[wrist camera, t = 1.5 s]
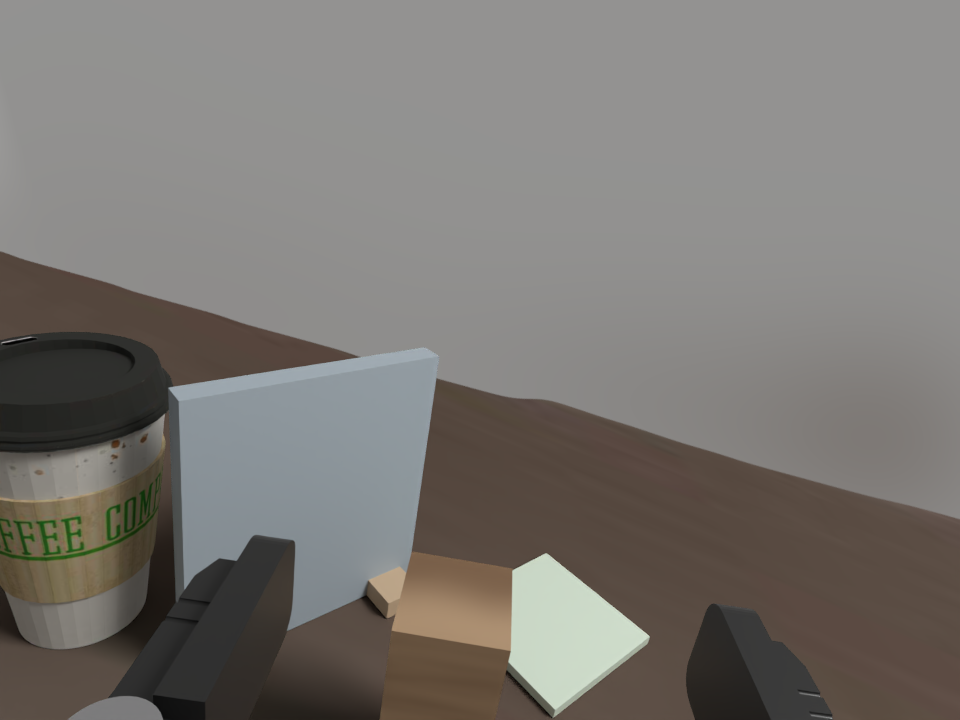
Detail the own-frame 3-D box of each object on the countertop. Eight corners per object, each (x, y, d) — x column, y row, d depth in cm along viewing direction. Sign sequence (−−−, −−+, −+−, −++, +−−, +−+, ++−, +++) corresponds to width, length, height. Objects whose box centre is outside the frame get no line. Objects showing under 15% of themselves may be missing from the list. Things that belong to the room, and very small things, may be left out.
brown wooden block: (468, 837, 27) (512, 651, 23) (365, 819, 27) (391, 630, 23) (476, 740, 31) (514, 568, 27) (386, 725, 31) (411, 551, 27)
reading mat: (552, 717, 33) (555, 710, 33) (448, 609, 39) (450, 602, 39) (647, 643, 39) (649, 636, 39) (544, 559, 45) (546, 553, 45)
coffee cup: (36, 716, 29) (-9, 438, 23) (-63, 613, 33) (-120, 356, 27) (217, 597, 37) (216, 370, 31) (119, 526, 41) (103, 315, 36)
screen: (202, 709, 30) (198, 425, 24) (164, 628, 34) (152, 367, 28) (428, 598, 40) (464, 372, 34) (377, 544, 43) (402, 333, 38)
